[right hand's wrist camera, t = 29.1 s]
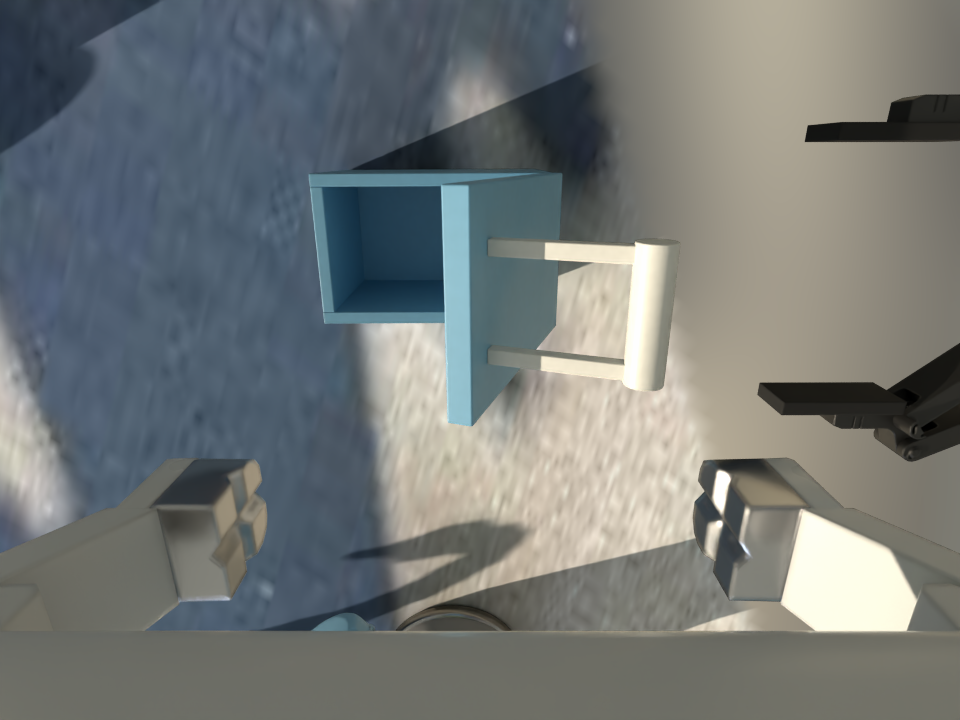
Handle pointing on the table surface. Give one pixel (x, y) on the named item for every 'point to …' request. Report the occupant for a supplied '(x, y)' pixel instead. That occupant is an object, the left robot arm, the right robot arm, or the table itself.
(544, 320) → the lid
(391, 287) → the chest
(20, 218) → the table surface
